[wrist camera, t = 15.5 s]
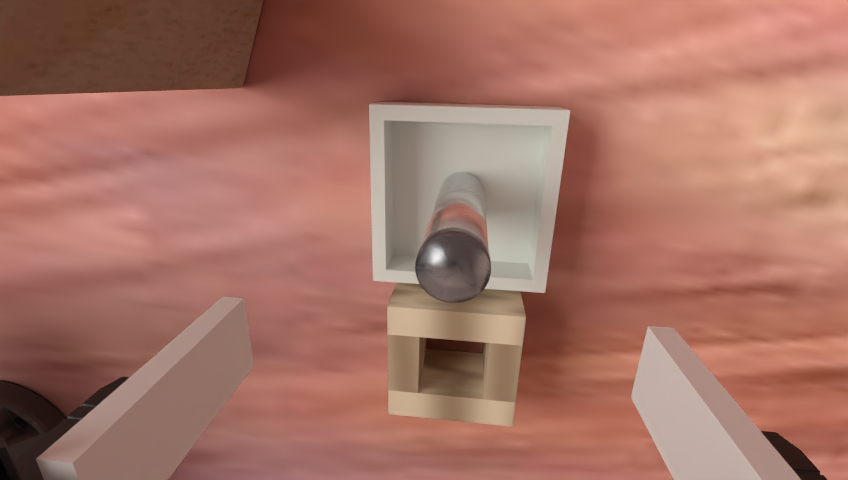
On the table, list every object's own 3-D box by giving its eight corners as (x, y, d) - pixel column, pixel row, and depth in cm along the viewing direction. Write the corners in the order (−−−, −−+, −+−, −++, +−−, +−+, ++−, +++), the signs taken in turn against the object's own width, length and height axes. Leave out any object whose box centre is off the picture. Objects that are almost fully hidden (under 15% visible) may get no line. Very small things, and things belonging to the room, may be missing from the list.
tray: (383, 260, 36) (373, 280, 33) (381, 101, 32) (368, 104, 28) (537, 270, 35) (544, 293, 31) (558, 106, 30) (570, 110, 27)
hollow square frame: (400, 367, 40) (388, 414, 35) (400, 272, 37) (387, 306, 31) (507, 377, 39) (512, 426, 34) (518, 280, 36) (526, 317, 30)
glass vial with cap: (438, 214, 33) (414, 299, 20) (440, 170, 32) (415, 231, 19) (483, 216, 33) (488, 305, 20) (486, 172, 32) (494, 235, 19)
